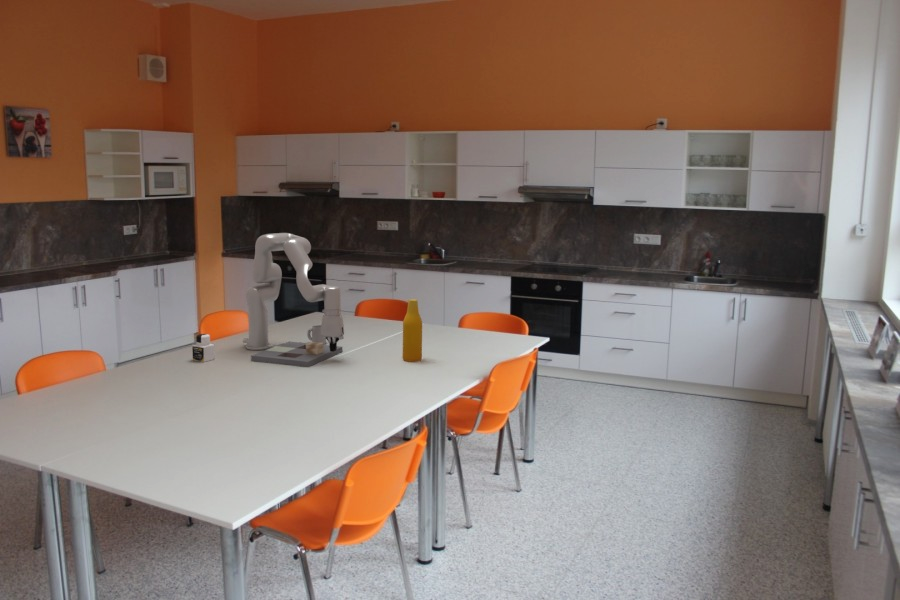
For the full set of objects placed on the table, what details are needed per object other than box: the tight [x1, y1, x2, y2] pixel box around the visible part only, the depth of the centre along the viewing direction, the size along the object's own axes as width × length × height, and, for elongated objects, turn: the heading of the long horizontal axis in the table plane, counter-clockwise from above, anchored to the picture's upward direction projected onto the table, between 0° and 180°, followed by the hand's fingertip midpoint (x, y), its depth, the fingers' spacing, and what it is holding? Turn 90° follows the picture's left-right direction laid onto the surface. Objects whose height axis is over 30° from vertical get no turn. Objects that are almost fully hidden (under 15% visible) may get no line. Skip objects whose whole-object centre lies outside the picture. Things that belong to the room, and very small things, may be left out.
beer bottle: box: [402, 298, 423, 363], centre depth 365 cm, size 9×9×29 cm
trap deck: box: [250, 341, 343, 368], centre depth 370 cm, size 30×34×2 cm
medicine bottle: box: [191, 333, 216, 363], centre depth 358 cm, size 7×7×12 cm
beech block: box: [306, 341, 324, 355], centre depth 366 cm, size 6×6×4 cm
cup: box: [306, 324, 327, 345], centre depth 398 cm, size 7×10×9 cm
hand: (333, 350), depth 363 cm, fingers closed
